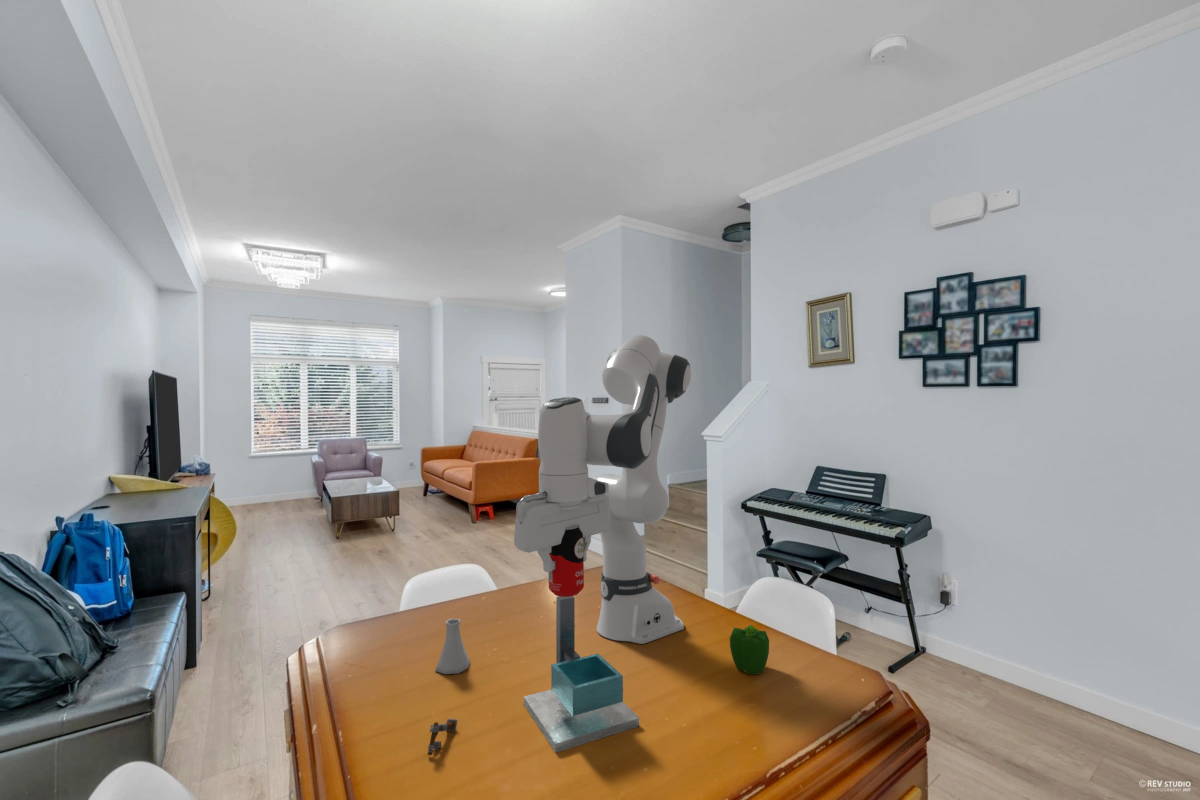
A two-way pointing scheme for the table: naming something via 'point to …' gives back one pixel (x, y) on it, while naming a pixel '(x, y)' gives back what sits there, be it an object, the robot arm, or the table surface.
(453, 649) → the flask
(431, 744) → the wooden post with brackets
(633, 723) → the cup bracket stand
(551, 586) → the beverage can
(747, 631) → the bell pepper
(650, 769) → the table surface
